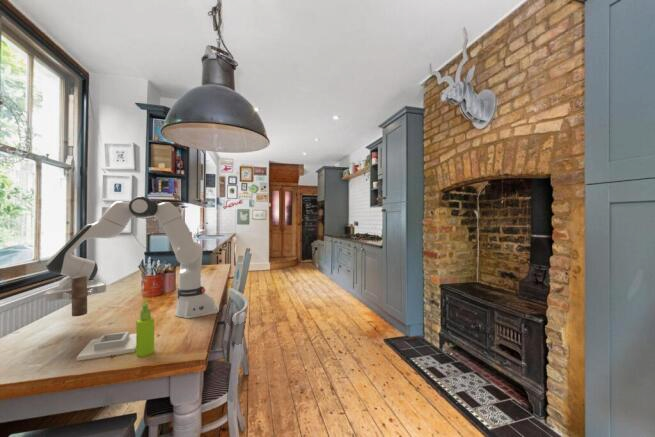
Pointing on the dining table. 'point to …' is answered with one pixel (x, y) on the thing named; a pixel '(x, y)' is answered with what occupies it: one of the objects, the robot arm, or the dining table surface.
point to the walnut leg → (79, 295)
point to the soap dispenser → (145, 332)
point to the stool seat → (109, 346)
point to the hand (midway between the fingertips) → (79, 294)
